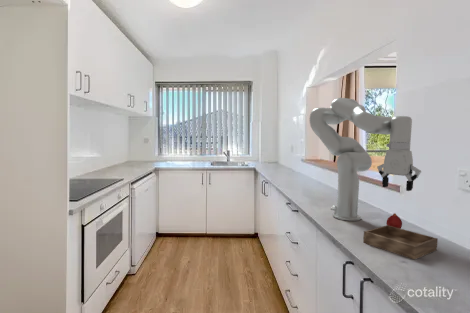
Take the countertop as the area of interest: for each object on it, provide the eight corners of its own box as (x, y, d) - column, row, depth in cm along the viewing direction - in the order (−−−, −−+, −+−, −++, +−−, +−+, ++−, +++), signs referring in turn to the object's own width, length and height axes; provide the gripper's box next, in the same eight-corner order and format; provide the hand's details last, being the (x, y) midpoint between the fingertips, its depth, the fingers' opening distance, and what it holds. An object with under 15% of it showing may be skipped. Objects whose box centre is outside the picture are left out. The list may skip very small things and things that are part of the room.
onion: (386, 229, 131) (387, 210, 131) (401, 231, 128) (403, 212, 128) (385, 232, 126) (386, 213, 126) (401, 235, 123) (402, 215, 123)
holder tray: (363, 242, 114) (364, 231, 113) (386, 235, 123) (387, 225, 122) (414, 259, 99) (415, 246, 98) (436, 250, 108) (437, 238, 108)
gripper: (374, 145, 130) (371, 186, 131) (417, 148, 116) (414, 193, 117) (384, 146, 134) (381, 184, 135) (426, 148, 120) (423, 191, 121)
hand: (396, 188), depth 126 cm, fingers open, 9 cm apart
